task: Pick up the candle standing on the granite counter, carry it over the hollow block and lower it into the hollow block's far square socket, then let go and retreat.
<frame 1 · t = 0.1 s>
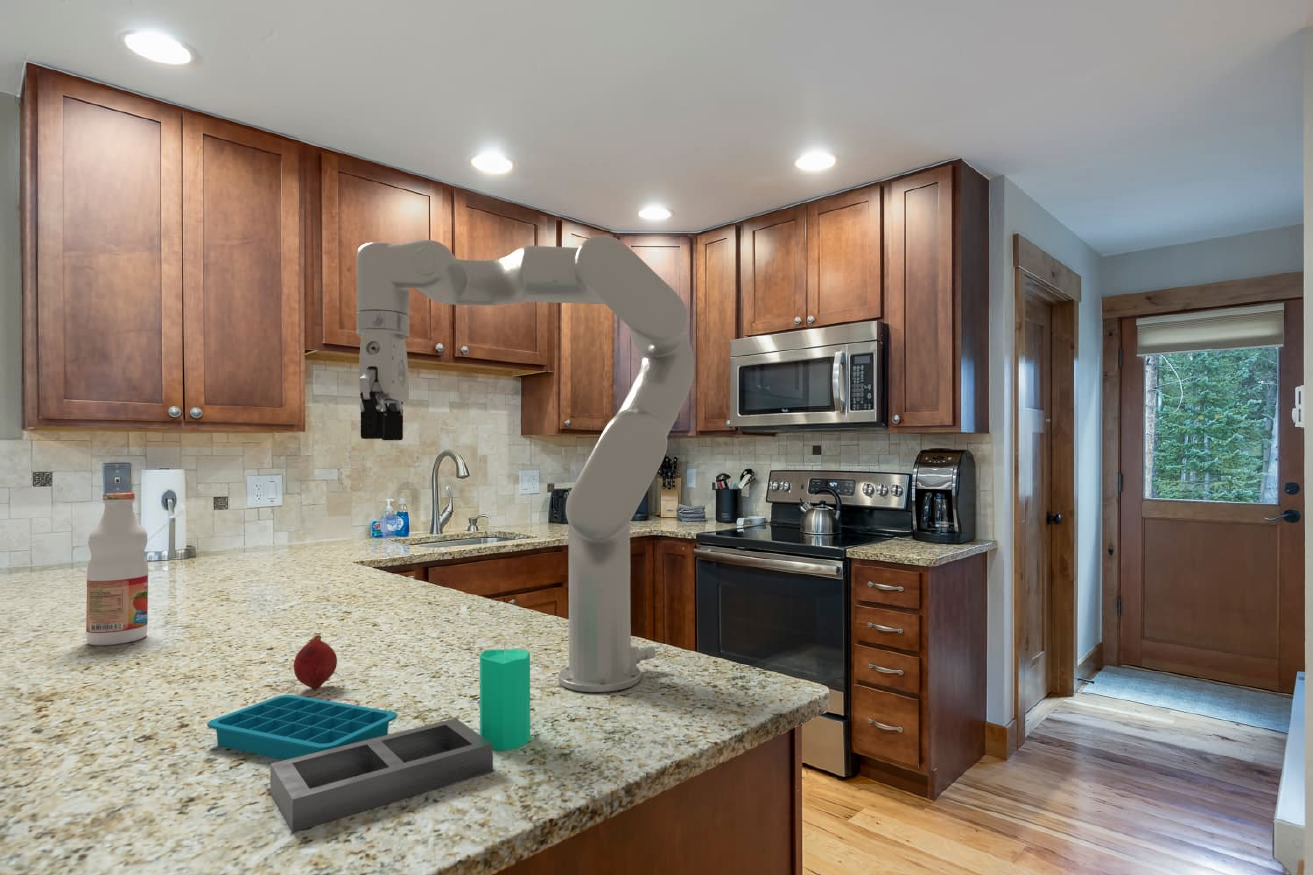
hand: (382, 439, 109), 37 cm above the countertop, tool pointing down, fingers open, 9 cm apart
candle: (505, 742, 87), on the countertop
fruit juice: (117, 641, 137), on the countertop
ice cube tray: (303, 744, 88), on the countertop
onion: (315, 690, 107), on the countertop
hollow block: (385, 781, 76), on the countertop
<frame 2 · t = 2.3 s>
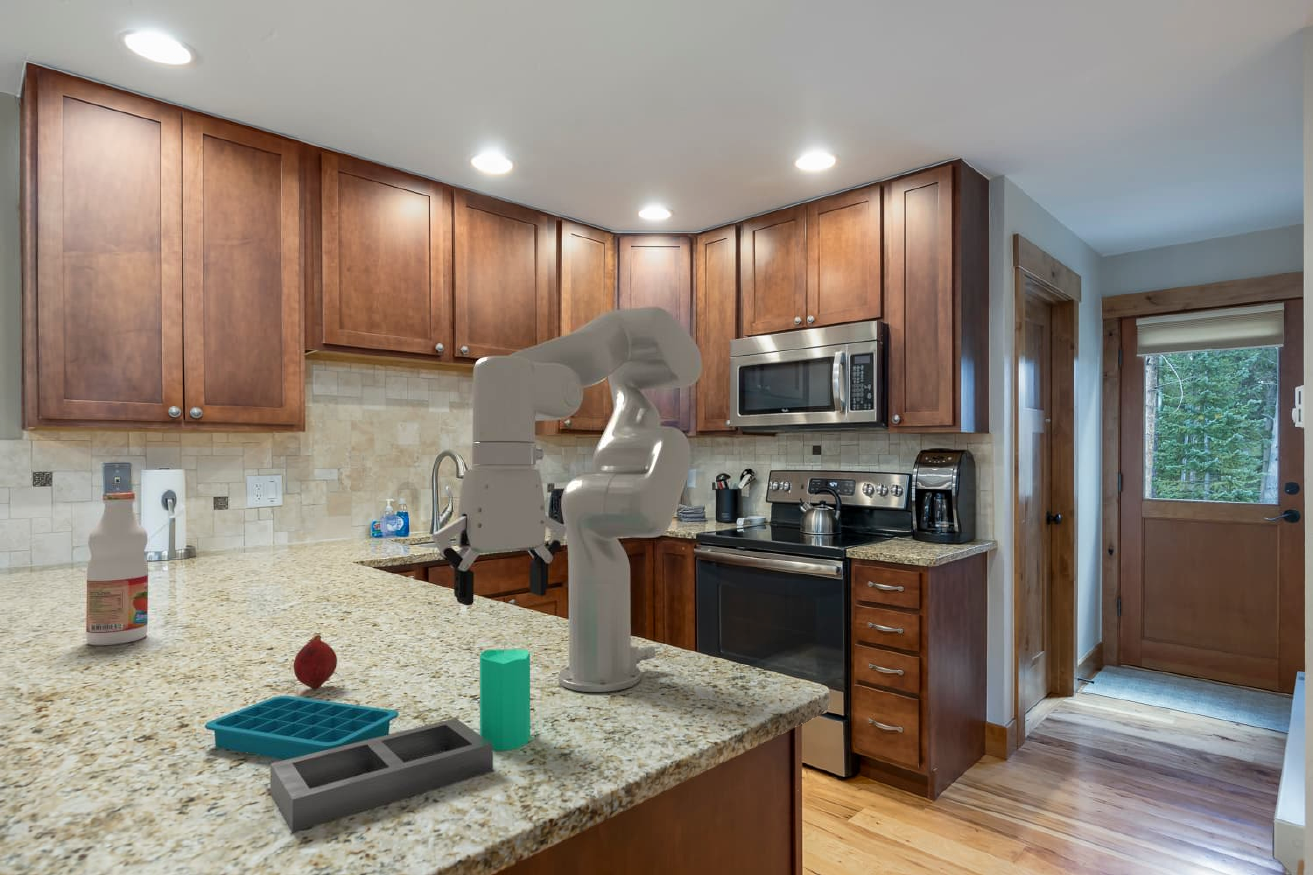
hand: (502, 598, 87), 17 cm above the countertop, tool pointing down, fingers open, 9 cm apart
nothing on the countertop moved.
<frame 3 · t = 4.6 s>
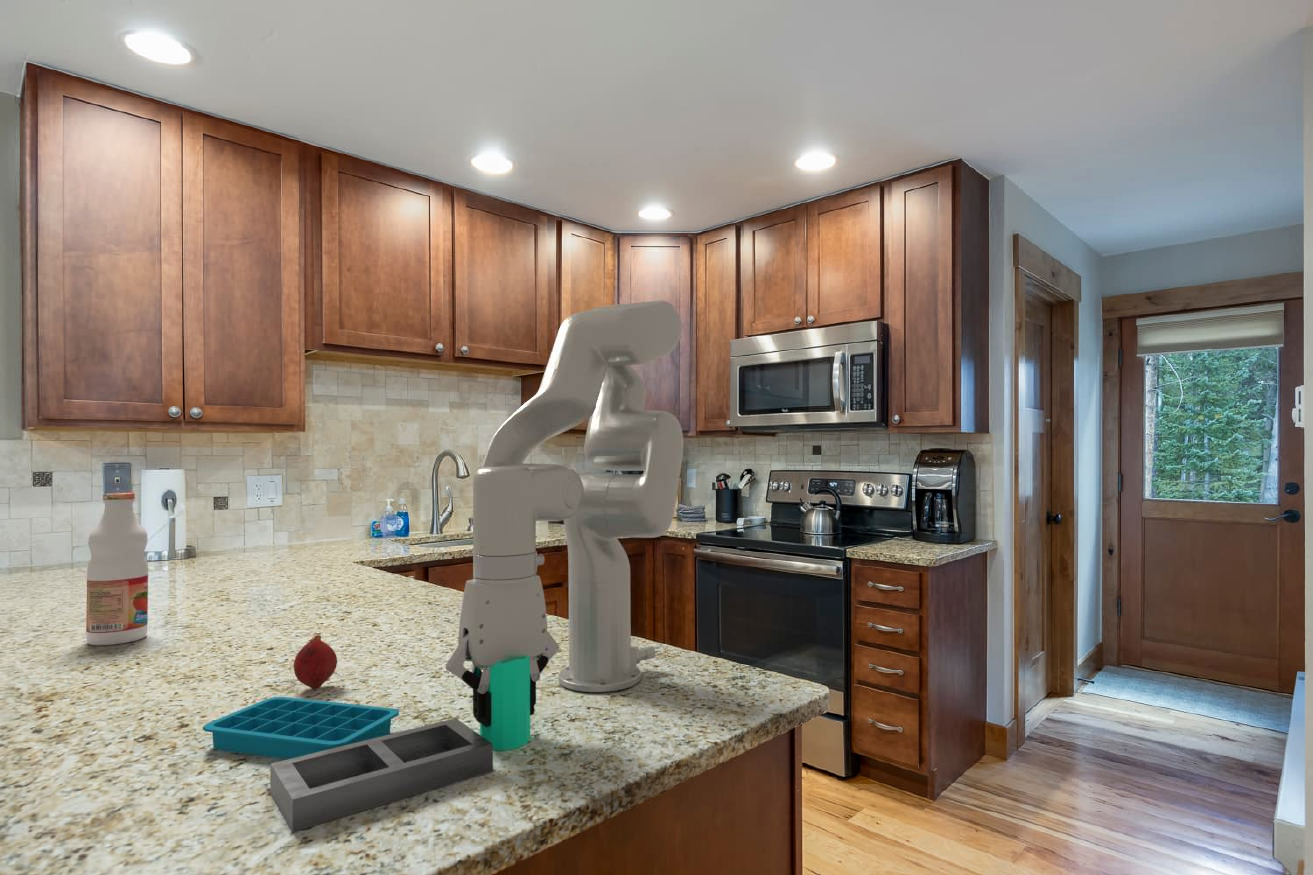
hand: (505, 716, 87), 3 cm above the countertop, tool pointing down, fingers closed on candle, 4 cm apart
candle: (505, 742, 87), on the countertop, touching gripper
everything else where it was.
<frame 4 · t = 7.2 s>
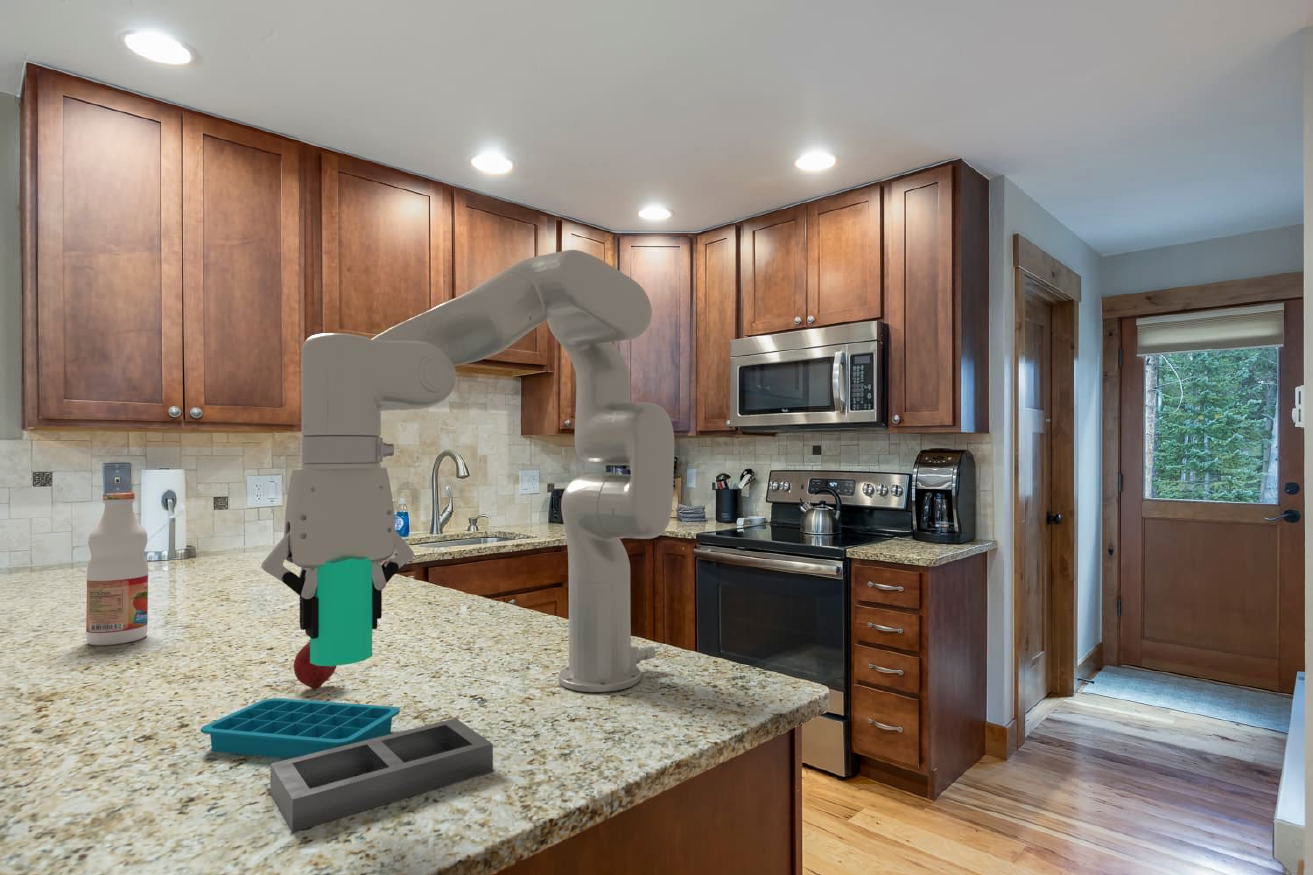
hand: (341, 629, 74), 17 cm above the countertop, tool pointing down, fingers closed on candle, 4 cm apart
candle: (341, 659, 74), point 14 cm above the countertop, touching gripper
everything else where it was.
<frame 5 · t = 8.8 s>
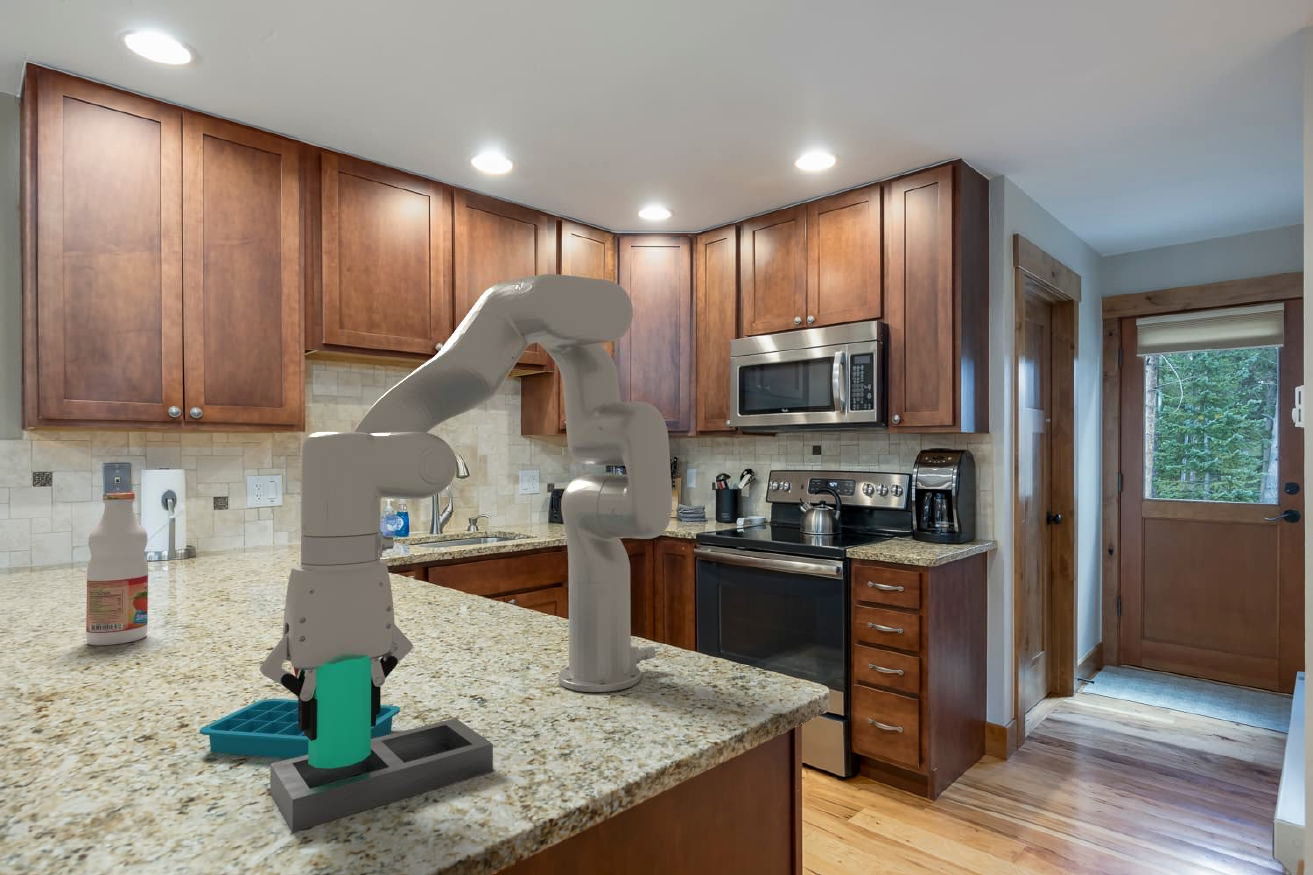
hand: (340, 727, 74), 7 cm above the countertop, tool pointing down, fingers closed on candle, 4 cm apart
candle: (340, 757, 73), point 4 cm above the countertop, touching gripper
when the fingers open (4 cm above the countertop, at t = 10.2 s): candle drops 1 cm, resting in hollow block.
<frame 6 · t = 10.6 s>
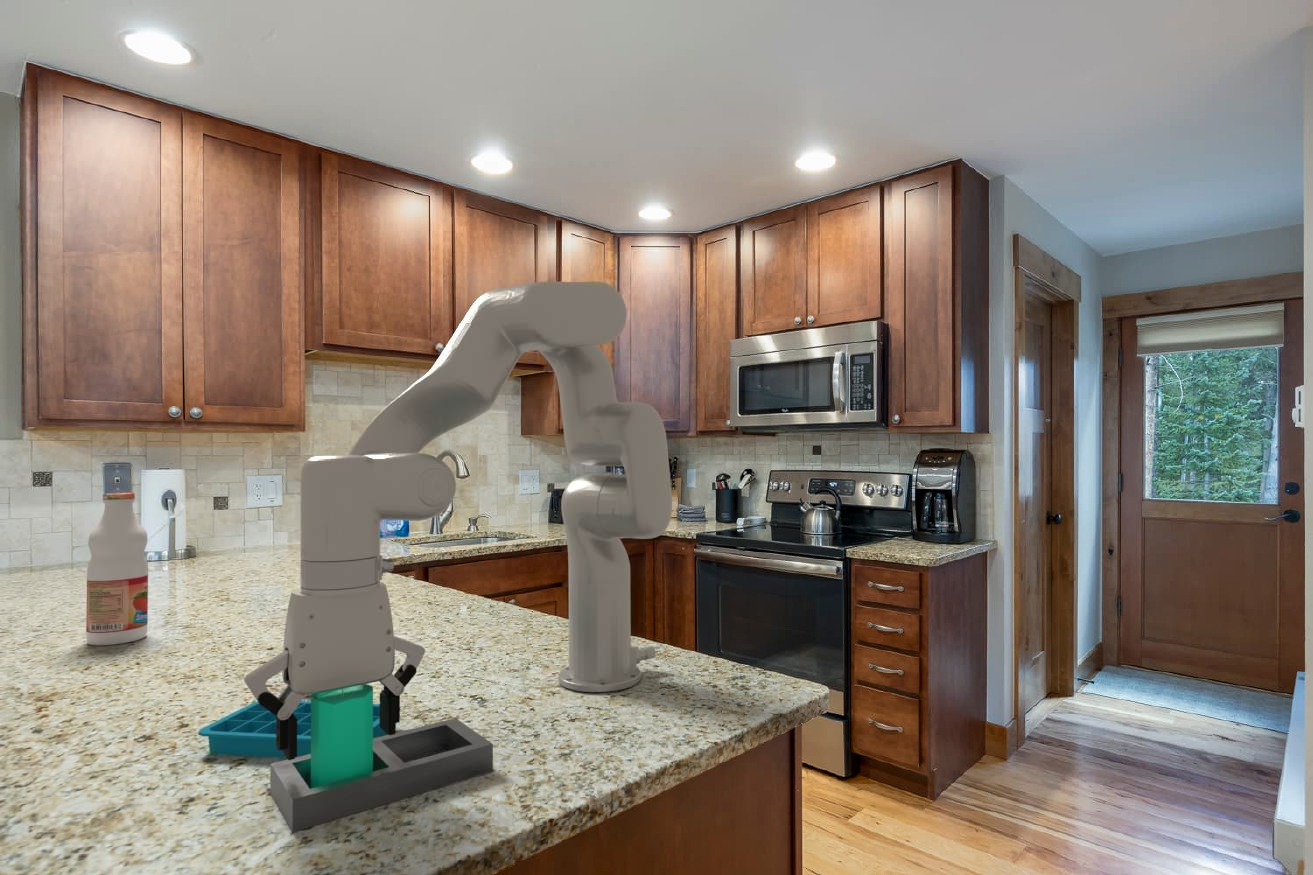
hand: (340, 742, 74), 5 cm above the countertop, tool pointing down, fingers open, 9 cm apart
candle: (342, 796, 74), resting in hollow block
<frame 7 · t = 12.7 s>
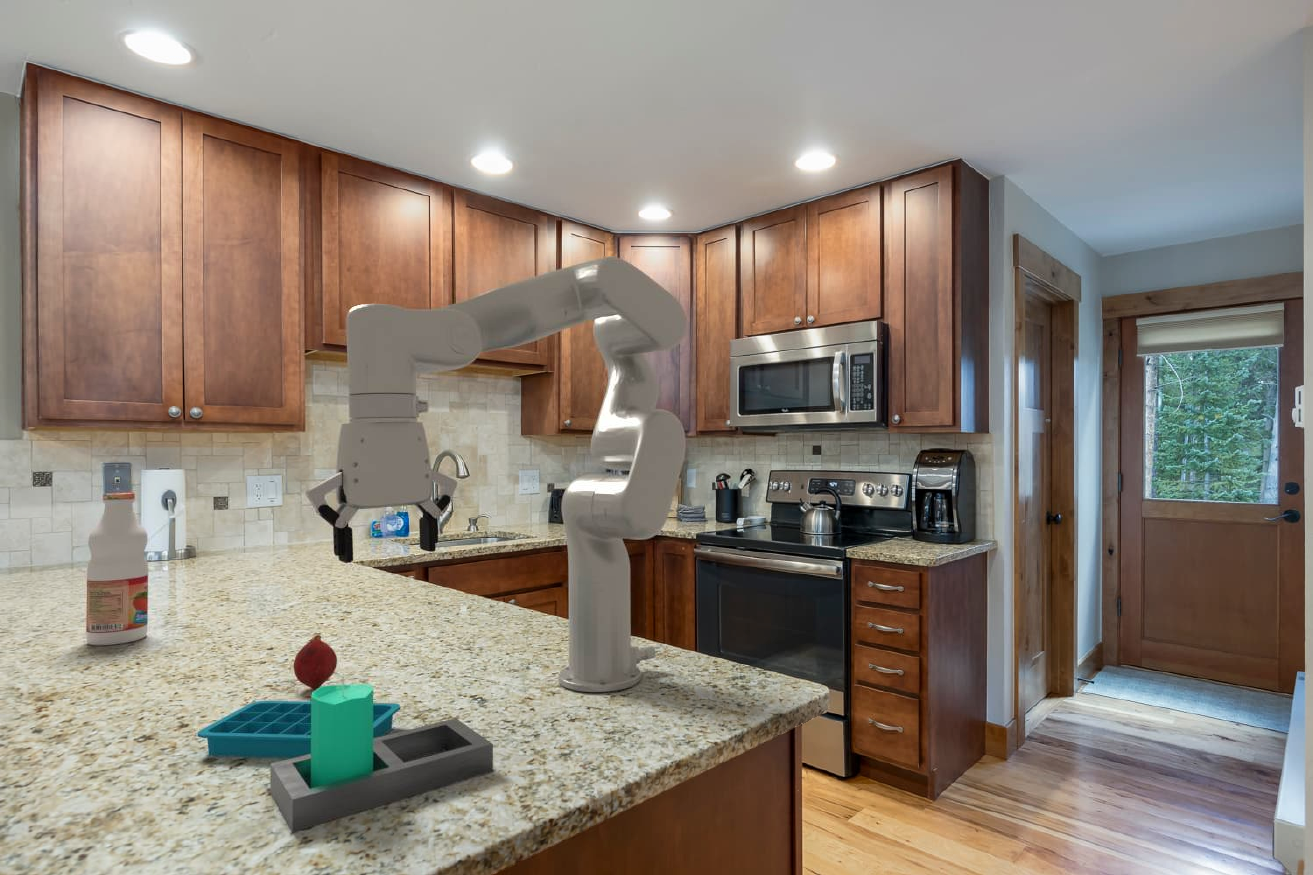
hand: (388, 555, 85), 23 cm above the countertop, tool pointing down, fingers open, 9 cm apart
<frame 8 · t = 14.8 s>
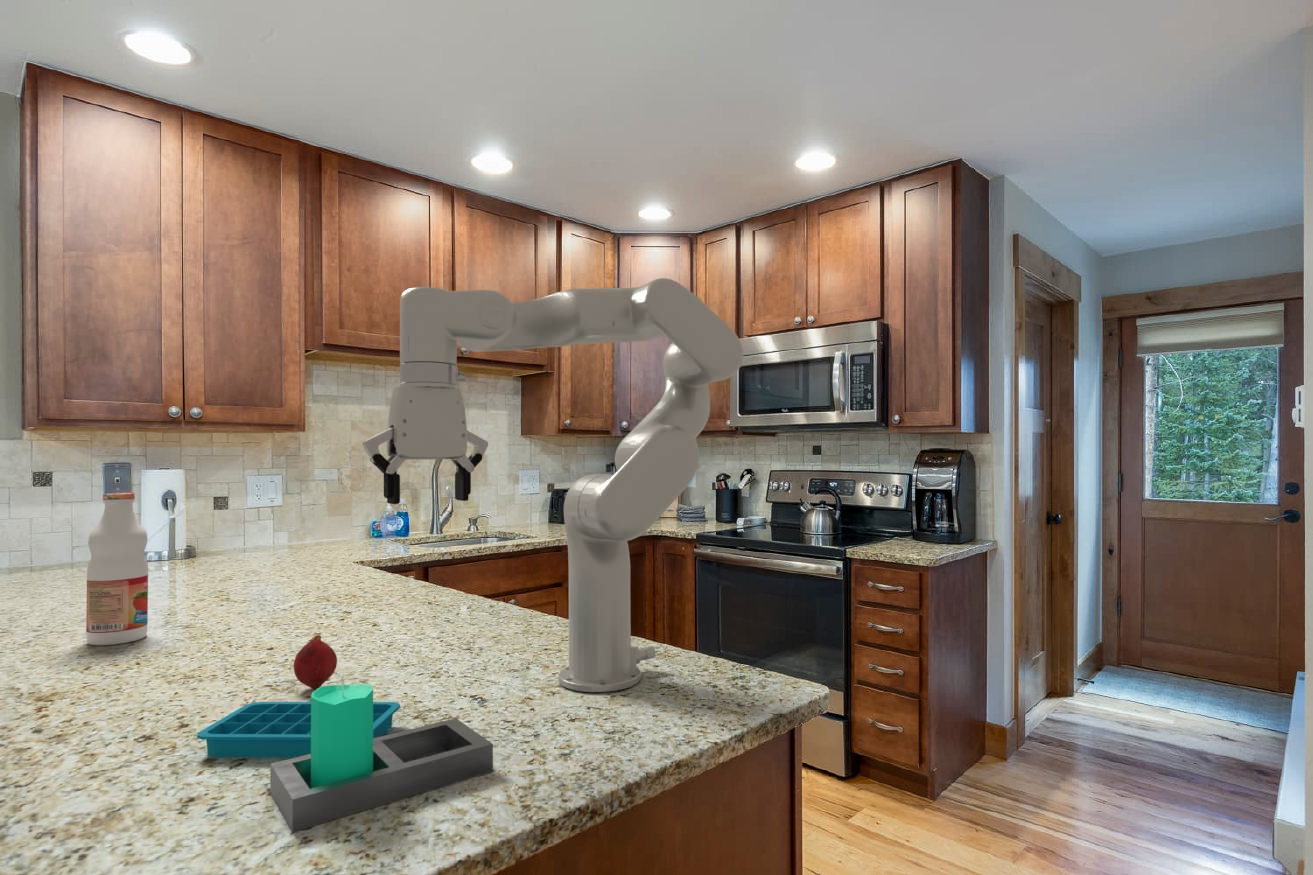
hand: (428, 501, 99), 28 cm above the countertop, tool pointing down, fingers open, 9 cm apart
at the end: candle 0.2 cm from the target spot, resting in hollow block; candle tilted 0°; the gripper is holding nothing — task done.
